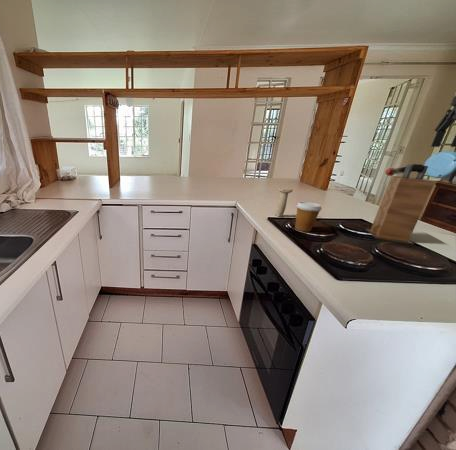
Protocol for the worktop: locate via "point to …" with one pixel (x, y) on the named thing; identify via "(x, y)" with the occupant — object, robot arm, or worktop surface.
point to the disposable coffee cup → (306, 215)
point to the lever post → (401, 206)
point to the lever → (403, 169)
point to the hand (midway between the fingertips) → (444, 146)
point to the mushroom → (282, 201)
